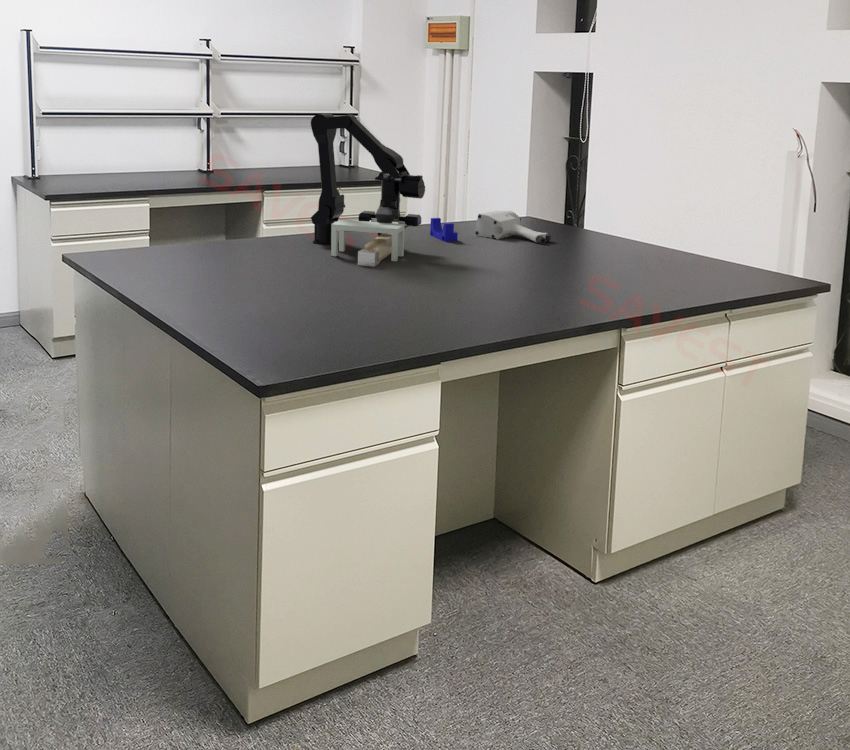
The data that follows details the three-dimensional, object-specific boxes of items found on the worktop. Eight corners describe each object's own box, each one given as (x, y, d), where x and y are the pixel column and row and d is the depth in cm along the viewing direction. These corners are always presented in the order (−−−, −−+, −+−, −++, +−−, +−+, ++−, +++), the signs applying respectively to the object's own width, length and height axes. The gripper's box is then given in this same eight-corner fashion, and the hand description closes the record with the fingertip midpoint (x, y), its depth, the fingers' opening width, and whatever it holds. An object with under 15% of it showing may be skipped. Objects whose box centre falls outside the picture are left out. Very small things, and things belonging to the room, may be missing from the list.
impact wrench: (572, 230, 338) (512, 204, 350) (539, 238, 321) (477, 211, 332) (565, 252, 342) (506, 225, 353) (532, 261, 324) (471, 233, 335)
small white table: (331, 255, 294) (331, 224, 291) (340, 250, 303) (340, 219, 300) (396, 261, 290) (397, 229, 287) (403, 255, 299) (404, 224, 296)
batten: (364, 261, 288) (364, 244, 287) (386, 246, 311) (386, 230, 310) (377, 262, 287) (378, 245, 286) (398, 247, 311) (399, 231, 309)
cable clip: (457, 241, 325) (458, 223, 323) (444, 242, 323) (445, 224, 321) (442, 235, 335) (442, 217, 333) (430, 235, 333) (430, 218, 331)
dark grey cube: (357, 265, 284) (357, 251, 282) (362, 262, 288) (362, 248, 287) (374, 266, 283) (374, 253, 281) (379, 263, 287) (379, 250, 286)
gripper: (353, 197, 296) (353, 248, 301) (414, 201, 293) (412, 253, 297) (363, 192, 307) (363, 242, 311) (422, 196, 303) (420, 246, 308)
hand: (389, 246), depth 307 cm, fingers closed on batten, 4 cm apart
